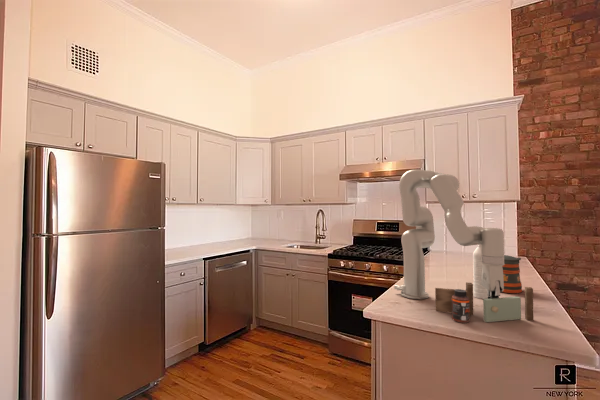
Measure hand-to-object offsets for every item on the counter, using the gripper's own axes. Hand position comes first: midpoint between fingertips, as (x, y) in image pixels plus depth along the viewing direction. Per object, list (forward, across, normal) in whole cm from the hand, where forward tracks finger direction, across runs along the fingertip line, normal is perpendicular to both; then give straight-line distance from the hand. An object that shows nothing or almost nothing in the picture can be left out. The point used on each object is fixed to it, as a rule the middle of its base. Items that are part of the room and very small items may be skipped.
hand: (493, 307), depth 120 cm
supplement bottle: (+4, +6, -13) cm, 15 cm away
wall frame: (+4, -2, -3) cm, 5 cm away
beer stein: (+4, -44, +17) cm, 47 cm away
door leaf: (+3, +4, +2) cm, 5 cm away
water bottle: (+4, -28, +5) cm, 29 cm away
